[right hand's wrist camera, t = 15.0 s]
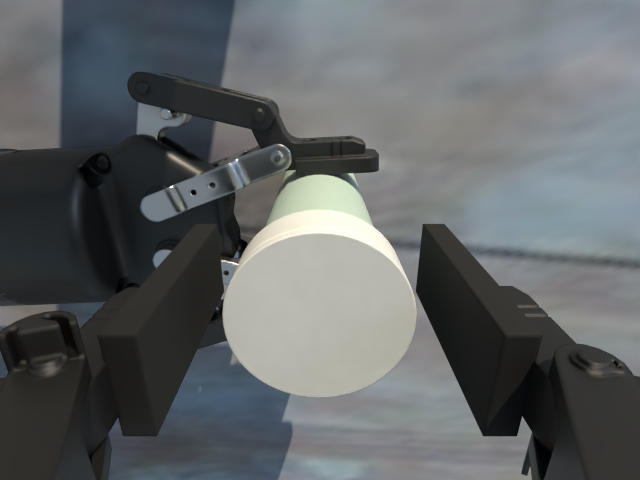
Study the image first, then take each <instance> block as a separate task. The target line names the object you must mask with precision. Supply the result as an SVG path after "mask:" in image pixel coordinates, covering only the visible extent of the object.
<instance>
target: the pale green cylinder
mask: <svg viewBox="0 0 640 480" xmlns="http://www.w3.org/2000/svg"><path fill="white" fill-rule="evenodd" d="M317 209H318V210H332V211H338V212H343V213H346V214H349V215H352V216H355V217H357V218H359V219H361V220H363V221H365V222H367V223H368V224H370V225H371V226H373V224H372V222H371V219H370V216H369V214H368V211H367V209H366V206H365V203H364V201H363V198H362V195H361V193H360V190H359V187H358V185H357V182H356V180H355V177H354V174H353V173H348V174H328V175H308V176H296V170H290V171H287V172H286V174H285V177H284V179H283V182H282V185H281V187H280V190H279V193H278V195H277V198H276V200H275V203H274V206H273V208H272V211H271V214H270V216H269V219H268V221H267V224H266V226H268V225H269V224H271V223H272V222H274V221H276V220H278V219H280V218H282V217H284V216H287V215H290V214H292V213H296V212H301V211H306V210H317Z"/></svg>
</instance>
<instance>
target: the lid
mask: <svg viewBox="0 0 640 480" xmlns="http://www.w3.org/2000/svg"><path fill="white" fill-rule="evenodd" d="M222 318H223V327H224V332H225V336H226V338H227V341H228V344H229V346H230V348H231V350H232V351H233V353H234V355H235V356H236V358H237V359H238V360H239V362H240V363H241V364H242V365H243V366H244V367H245V368H246V369H247V370H248V371H249V372H250V373H251V374H252V375H254V376H255V377H256V378H257V379H259V380H261V381H262V382H264V383H265V384H267V385H269V386H271V387H273V388H275V389H278V390H280V391H283V392H286V393H289V394H294V395H298V396H304V397H318V398H323V397H335V396H341V395H345V394H349V393H353V392H356V391H358V390H361V389H363V388H366V387H368V386H370V385H371V384H373V383H375V382H377V381H378V380H380V379H381V378H383V377H384V376H385V375H386V374H388V373H389V372H390V371H391V370H392V369H393V368H394V367H395V366H396V365H397V364H398V363H399V361H400V360H401V359H402V357H403V356H404V354H405V353H406V351H407V349H408V347H409V345H410V343H411V341H412V337H413V334H414V331H415V325H416V304H415V298H414V295H413V291H412V288H411V286H410V284H409V281H408V279H407V277H406V275H405V273H404V270H403V268H402V266H401V264H400V261H399V259H398V257H397V255H396V253H395V251H394V249H393V248H392V246H391V245H390V243H389V242H388V241H387V239H386V238H385V237H384V236H383V235H382V234H381V233H380V232H379V231H378V230H376V229H375V228H374V227H373V226H371V225H370V224H368V223H367V222H365V221H363V220H361V219H359V218H357V217H355V216H352V215H349V214H346V213H343V212H338V211H332V210H318V209H317V210H306V211H301V212H296V213H292V214H290V215H287V216H284V217H282V218H280V219H278V220H276V221H274V222H272V223H271V224H269V225H268V226H266V227H265V228H263V229H262V230H261V231H260V232H259V233H258V234H257V235H256V236H255V237H254V238H253V239H252V240H251V242H250V243H249V244H248V246H247V247H246V249H245V251H244V252H243V254H242V257H241V259H240V261H239V263H238V265H237V268H236V270H235V272H234V274H233V276H232V279H231V281H230V283H229V286H228V288H227V290H226V293H225V297H224V301H223V310H222Z"/></svg>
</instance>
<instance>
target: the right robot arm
mask: <svg viewBox="0 0 640 480" xmlns="http://www.w3.org/2000/svg"><path fill="white" fill-rule="evenodd" d="M223 293H224V286H223V276H222V267H221V257H220V248H219V238H218V229H217V224H195V225H194V227H193V228H192V229H191V230H190V231H189V232H188V233H187V234H186V236H185V237H184V238H183V239H182V240H181V241H180V242H179V243H178V245H177V246H176V247H175V248H174V249H173V250H172V251H171V252H170V253H169V255H168V256H167V257H166V258H165V259H164V260H163V261H162V262H161V264H160V265H159V266H158V267H157V268H156V269H155V270H154V271H153V273H152V274H151V275H150V276H149V277H148V278H147V279H146V280H145V282H144V283H143V284H142V285H141V286H140V287H128V288H126V289H124V290H123V291H121V292H119V293H117V294H115V295H114V296H112V297H111V298H110V299H109V300H108V301H107V302H106V303H105V304H104V305H103V306H102V307H101V309H99V310H98V311H97V312H96V313H95V314H94V315H93V318H90V319H89V320H88V321H87V322H86V323H85V324H84V325H83V326H82V327H81V328H80V329H79V326H78V322H77V319H76V316H75V315H73V314H72V313H70V312H64V311H51V312H44V313H39V314H35V315H31V316H29V317H26V318H24V319H21V320H19V321H16V322H14V323H13V324H11V325H9V326H8V327H6V328H4V329H3V330H2V331H1V332H0V351H1V354H2V356H3V359H4V362H5V364H6V367H7V370H8V372H9V373H8V375H7V377H6V378H1V379H0V480H108V475H109V467H110V459H111V451H112V448H111V442H110V438H109V435H108V433H109V431H110V430H111V428H112V426H113V425H114V423H115V421H116V420H117V418H119V422H120V426H121V430H122V434H123V436H157V435H158V432H159V430H160V428H161V426H162V424H163V422H164V420H165V417H166V415H167V413H168V411H169V409H170V407H171V404H172V402H173V400H174V398H175V396H176V394H177V392H178V389H179V387H180V385H181V383H182V381H183V379H184V377H185V374H186V372H187V370H188V368H189V366H190V364H191V361H192V359H193V357H194V355H195V353H196V351H197V349H198V346H199V344H200V342H201V340H202V338H203V336H204V333H205V331H206V329H207V327H208V325H209V323H210V321H211V318H212V316H213V314H214V312H215V310H216V308H217V305H218V303H219V301H220V299H221V297H222V295H223ZM416 293H417V295H418V297H419V299H420V301H421V303H422V305H423V308H424V310H425V312H426V314H427V316H428V318H429V321H430V323H431V325H432V327H433V329H434V331H435V333H436V336H437V338H438V340H439V342H440V344H441V346H442V349H443V351H444V353H445V355H446V357H447V359H448V361H449V364H450V366H451V368H452V370H453V372H454V374H455V377H456V379H457V381H458V383H459V385H460V387H461V389H462V392H463V394H464V396H465V398H466V400H467V402H468V405H469V407H470V409H471V411H472V413H473V415H474V417H475V420H476V422H477V424H478V426H479V428H480V430H481V432H482V435H483V436H517V434H518V430H519V426H520V422H521V418H522V416H523V418H524V419H525V421H526V423H527V424H528V426H529V428H530V429H531V431H532V435H531V438H530V442H529V445H528V449H527V453H526V456H525V460H524V464H523V468H522V474H523V475H526V476H527V474H528V471H529V467H531V474H532V480H640V377H638V376H634V375H633V374H632V372H631V371H630V370H629V368H628V367H627V366H626V365H625V363H623V362H622V361H620V360H619V359H618V358H616V357H615V356H613V355H611V354H609V353H607V352H605V351H603V350H601V349H598V348H595V347H591V346H588V345H584V344H576V343H575V342H574V341H573V340H572V339H571V338H570V337H569V336H568V335H567V334H566V333H565V332H564V331H563V330H562V329H561V328H560V327H559V326H558V325H557V324H556V323H555V322H554V320H553V319H552V318H551V317H548V314H547V313H546V312H545V311H544V310H543V309H542V308H539V305H538V304H537V303H536V302H535V301H534V300H533V299H532V298H531V297H530V296H529V295H527V294H525V293H524V292H522V291H520V290H518V289H516V288H515V287H513V286H499V285H498V284H497V283H496V282H495V280H494V279H493V278H492V277H491V276H490V275H489V274H488V273H487V271H486V270H485V269H484V268H483V267H482V266H481V265H480V264H479V262H478V261H477V260H476V259H475V258H474V257H473V256H472V255H471V253H470V252H469V251H468V250H467V249H466V248H465V247H464V246H463V245H462V243H461V242H460V241H459V240H458V239H457V238H456V237H455V236H454V234H453V233H452V232H451V231H450V230H449V229H448V228H447V227H446V225H445V224H423V229H422V238H421V248H420V257H419V267H418V276H417V286H416Z"/></svg>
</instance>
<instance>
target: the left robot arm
mask: <svg viewBox="0 0 640 480" xmlns="http://www.w3.org/2000/svg"><path fill="white" fill-rule="evenodd" d="M128 91H129V93H130V95H131V96H132V98H133V99H134V100H136V101H137V102H138V106H137V125H136V135H133V136H130V137H129V138H127V139H126V140H124V141H123V142H122V143H120V144H118V145H112V146H93V147H73V148H54V149H35V150H15V149H0V306H18V305H42V304H64V303H87V302H107V301H108V300H109V299H110V298H111V297H112V296H114V295H115V294H117V293H119V292H121V291H123V290H124V289H126V288H128V287H140V286H141V285H142V284H143V283H144V282H145V280H146V279H147V278H148V277H149V276H150V275H151V274H152V273H153V271H154V270H155V269H156V268H157V267H158V266H159V265H160V264H161V262H162V261H163V260H164V259H165V258H166V257H167V256H168V255H169V253H170V252H171V251H172V250H173V249H174V248H175V247H176V246H177V245H178V243H179V242H180V241H181V240H182V239H183V238H184V237H185V236H186V234H187V233H188V232H189V231H190V230H191V229H192V228H193V227H194V225H195V224H217V229H218V238H219V248H220V257H221V267H222V276H223V284H226V285H229V283H230V281H231V279H232V276H233V274H234V272H235V270H236V268H237V265H238V263H239V261H240V259H241V257H242V254H243V252H244V251H245V249H246V247H247V246H248V244H249V243H250V242H251V240H252V239H253V238H250V237H246V236H242V235H240V228H239V225H238V222H237V220H236V218H235V215H234V204H235V191H238V190H240V189H242V188H244V187H245V186H247V185H249V184H251V183H254V182H256V181H259V180H262V179H264V178H267V177H269V176H272V175H275V174H277V173H280V172H282V171H290V170H296V176H308V175H328V174H348V173H368V172H376V171H378V170H379V154H378V153H377V152H376V151H375V150H374V149H365V143H364V142H363V140H362V139H359V138H356V137H353V136H340V137H319V138H296V137H293V136H292V135H290V134H289V133H288V132H287V130H286V128H285V126H284V124H283V122H282V119H281V117H280V115H279V108H278V106H277V104H276V103H275V102H274V101H273V100H271V99H268V98H263V97H259V96H255V95H251V94H247V93H243V92H239V91H235V90H231V89H226V88H222V87H218V86H214V85H210V84H206V83H202V82H198V81H194V80H189V79H185V78H181V77H177V76H173V75H169V74H164V73H153V72H136V73H134V74H132V75H131V76H130V78H129V80H128ZM192 115H193V116H198V117H202V118H206V119H210V120H215V121H219V122H223V123H227V124H232V125H236V126H240V127H244V128H249V129H252V132H253V134H254V136H255V138H256V140H257V142H258V144H259V145H258V146H256V147H253V148H251V149H248V150H244V151H241V152H239V153H236V154H233V155H231V156H228V157H226V158H223V159H221V160H218V161H216V162H213V163H211V164H210V163H208V162H207V161H205V160H203V159H202V158H200V157H199V156H197V155H195V154H194V153H192V152H190V151H189V150H187V149H185V148H184V147H182V146H180V145H179V144H177V143H176V142H174V141H172V140H171V139H169V138H167V137H166V136H164V135H165V132H166V130H167V129H168V128H169V127H178V126H181V125H184V124H187V123H188V122H189V121H190V119H191V117H192ZM223 301H224V299H223V300H221V299H220V301H219V303H218V305H217V308H216V310H215V312H214V314H213V316H212V318H211V321H210V323H209V325H208V327H207V329H206V331H205V333H204V336H203V338H202V340H201V342H200V344H199V346H198V349H199V348H203V347H206V346H210V345H213V344H217V343H220V342H223V341H227V338H226V336H225V332H224V327H223V318H222V310H223Z"/></svg>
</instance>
